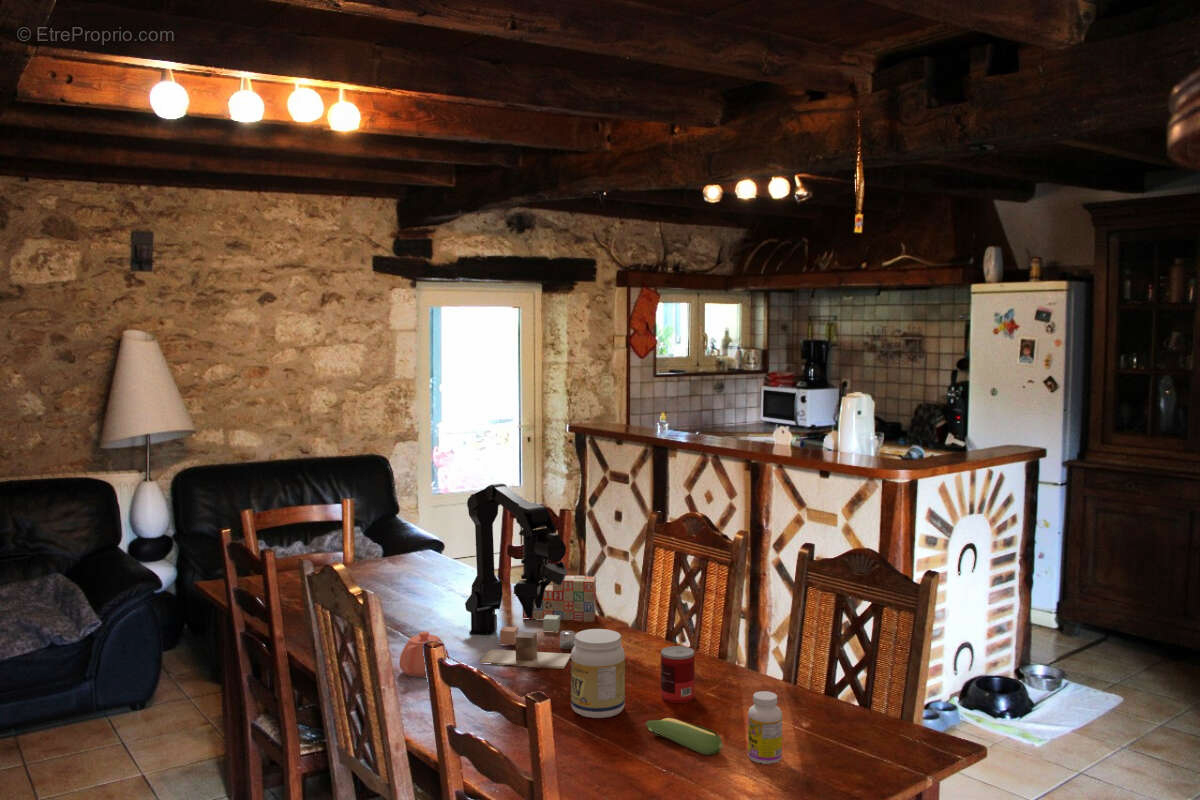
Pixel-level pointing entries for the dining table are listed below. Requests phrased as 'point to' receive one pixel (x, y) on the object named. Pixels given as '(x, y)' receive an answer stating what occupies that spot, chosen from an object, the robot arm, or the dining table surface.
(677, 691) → the canned food
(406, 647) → the terracotta lidded pot
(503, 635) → the terracotta cube
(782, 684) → the dining table surface
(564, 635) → the metal tin
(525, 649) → the walnut block
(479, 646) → the dining table surface
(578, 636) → the supplement tub
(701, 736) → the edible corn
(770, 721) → the supplement bottle
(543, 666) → the oak board
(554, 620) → the sage green block
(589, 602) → the stack of blocks
